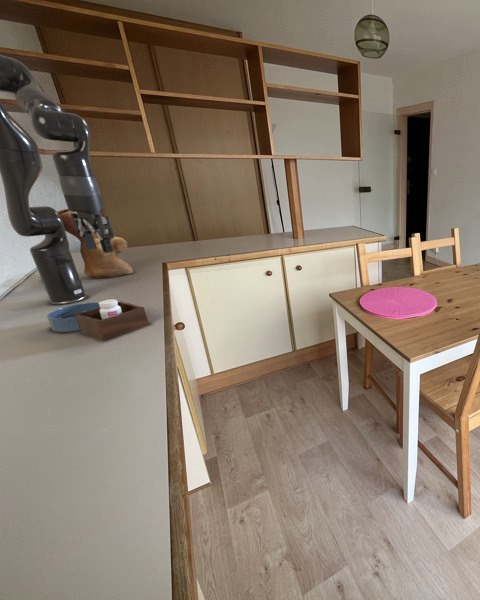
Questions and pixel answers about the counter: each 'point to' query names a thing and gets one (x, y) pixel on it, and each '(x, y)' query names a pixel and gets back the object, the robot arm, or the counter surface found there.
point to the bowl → (68, 317)
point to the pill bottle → (109, 308)
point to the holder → (112, 321)
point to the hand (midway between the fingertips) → (100, 250)
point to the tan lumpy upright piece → (98, 253)
